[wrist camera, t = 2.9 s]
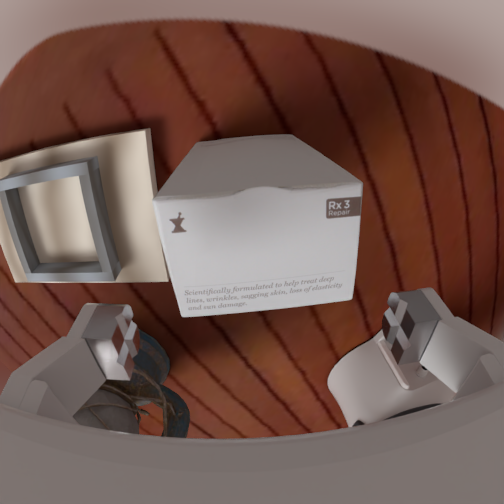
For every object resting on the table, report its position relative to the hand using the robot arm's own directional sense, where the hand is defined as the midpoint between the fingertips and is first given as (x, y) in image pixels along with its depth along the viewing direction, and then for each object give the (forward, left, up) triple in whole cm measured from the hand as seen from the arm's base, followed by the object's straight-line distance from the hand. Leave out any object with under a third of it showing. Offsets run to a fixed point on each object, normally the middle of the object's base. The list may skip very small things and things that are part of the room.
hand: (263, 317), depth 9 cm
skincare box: (0, 0, -18) cm, 18 cm away
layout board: (+18, +3, -18) cm, 26 cm away
